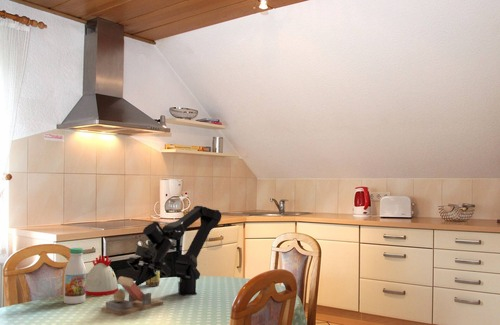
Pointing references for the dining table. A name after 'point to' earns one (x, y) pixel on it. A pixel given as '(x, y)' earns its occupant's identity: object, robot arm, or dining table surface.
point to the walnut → (119, 296)
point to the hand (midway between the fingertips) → (136, 285)
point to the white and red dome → (101, 278)
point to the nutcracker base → (134, 307)
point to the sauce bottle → (155, 280)
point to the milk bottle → (75, 278)
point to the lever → (131, 288)
